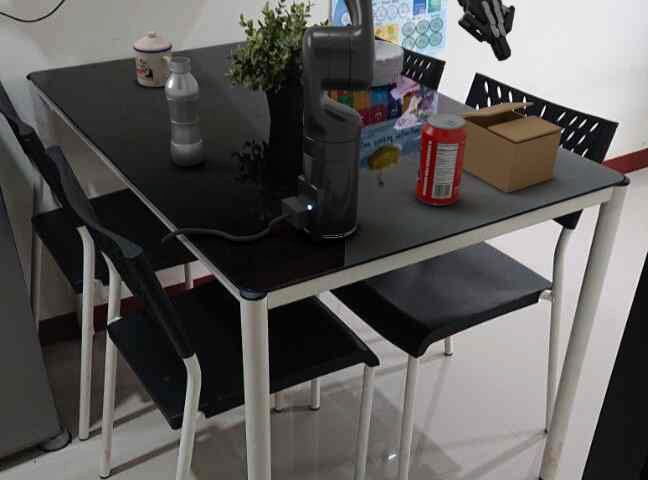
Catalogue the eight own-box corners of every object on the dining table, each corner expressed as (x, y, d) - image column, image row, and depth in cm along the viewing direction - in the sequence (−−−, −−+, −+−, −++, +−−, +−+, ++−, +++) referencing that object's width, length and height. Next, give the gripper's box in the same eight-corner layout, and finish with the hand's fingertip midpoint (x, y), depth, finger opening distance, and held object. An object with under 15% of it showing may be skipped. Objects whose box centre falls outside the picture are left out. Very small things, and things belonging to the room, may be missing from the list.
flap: (460, 115, 149) (460, 113, 149) (505, 104, 155) (505, 102, 155) (487, 116, 143) (487, 113, 143) (533, 104, 149) (533, 102, 149)
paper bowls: (371, 95, 185) (373, 62, 181) (327, 78, 194) (328, 46, 190) (414, 82, 194) (417, 50, 189) (370, 66, 203) (372, 35, 198)
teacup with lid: (129, 80, 190) (123, 31, 183) (161, 72, 195) (156, 24, 188) (158, 94, 183) (153, 43, 176) (189, 85, 188) (186, 35, 181)
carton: (453, 163, 155) (460, 113, 149) (497, 151, 161) (505, 102, 155) (506, 193, 145) (516, 140, 139) (551, 178, 151) (562, 127, 145)
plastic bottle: (173, 171, 149) (163, 67, 137) (169, 157, 154) (159, 55, 143) (207, 168, 151) (200, 64, 139) (202, 154, 156) (195, 53, 144)
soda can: (435, 212, 138) (444, 132, 129) (405, 196, 143) (413, 117, 134) (466, 201, 142) (478, 122, 133) (437, 185, 147) (446, 108, 138)
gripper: (483, -18, 151) (518, 63, 150) (430, -10, 145) (466, 74, 144) (507, -43, 144) (544, 42, 143) (453, -36, 138) (491, 53, 137)
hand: (505, 58), depth 143 cm, fingers closed
